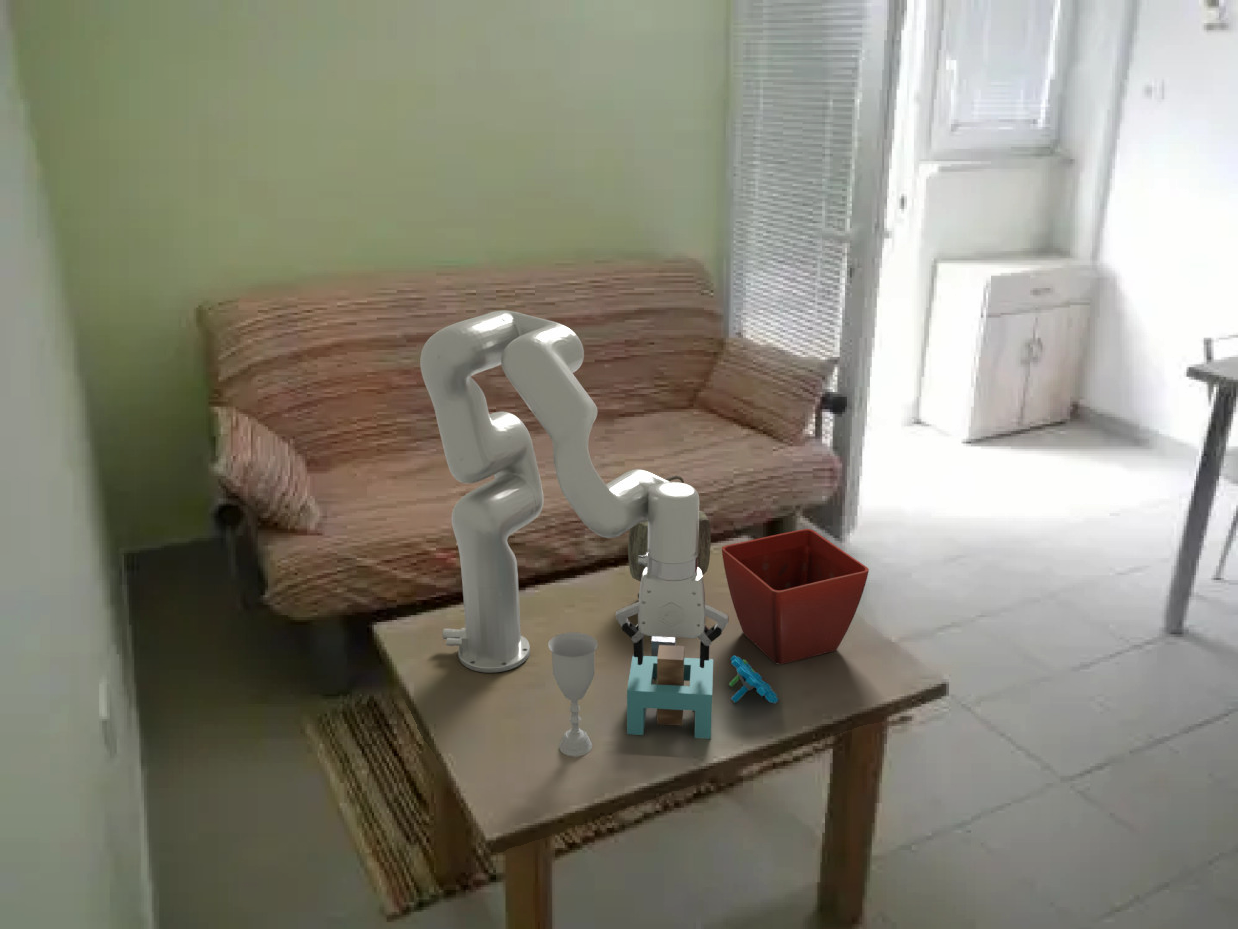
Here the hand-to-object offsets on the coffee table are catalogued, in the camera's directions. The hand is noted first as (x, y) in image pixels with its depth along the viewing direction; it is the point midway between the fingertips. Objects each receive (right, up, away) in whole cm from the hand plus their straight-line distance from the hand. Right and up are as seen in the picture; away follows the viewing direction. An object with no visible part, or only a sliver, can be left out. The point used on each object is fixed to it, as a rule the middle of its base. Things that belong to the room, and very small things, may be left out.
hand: (671, 661), depth 161 cm
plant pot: (+22, -1, +25) cm, 34 cm away
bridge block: (0, -10, +4) cm, 10 cm away
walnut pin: (0, -10, +4) cm, 10 cm away
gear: (+14, -8, +9) cm, 18 cm away
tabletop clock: (+2, +5, +41) cm, 41 cm away
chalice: (-15, -13, -3) cm, 20 cm away
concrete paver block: (0, -4, +18) cm, 18 cm away
